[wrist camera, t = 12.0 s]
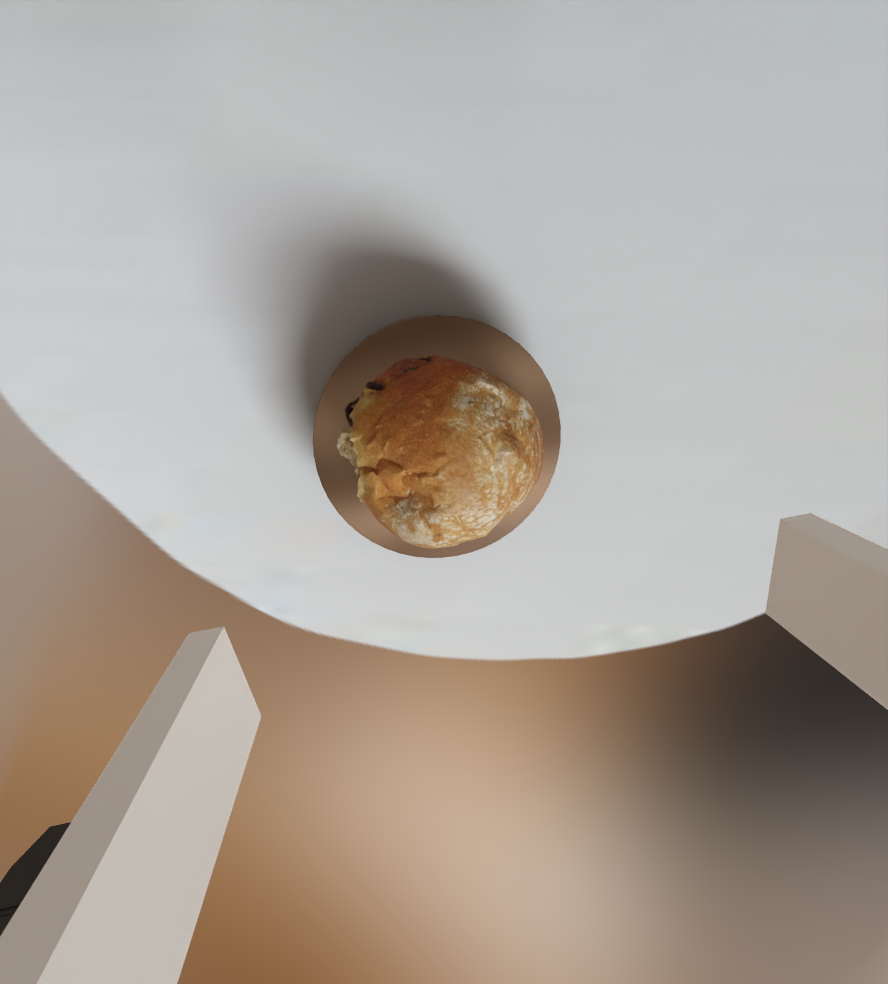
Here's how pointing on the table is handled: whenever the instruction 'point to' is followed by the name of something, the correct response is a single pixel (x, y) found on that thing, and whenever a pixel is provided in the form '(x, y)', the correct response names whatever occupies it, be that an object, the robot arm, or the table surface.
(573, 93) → the table surface
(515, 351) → the walnut stand
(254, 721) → the robot arm
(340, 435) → the bread roll
